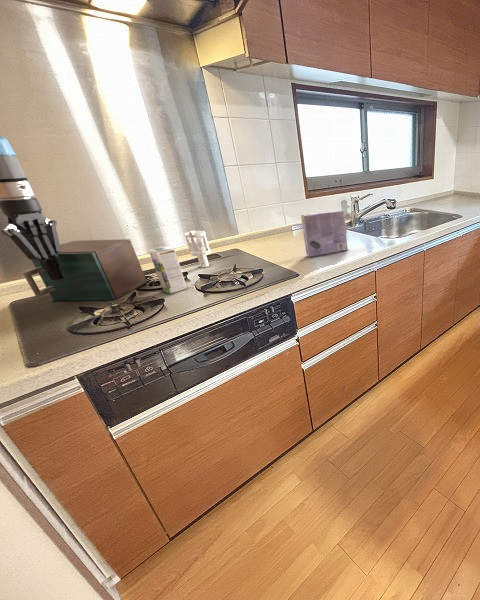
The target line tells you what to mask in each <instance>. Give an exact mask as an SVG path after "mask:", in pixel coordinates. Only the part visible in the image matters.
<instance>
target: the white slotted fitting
mask: <svg viewBox="0 0 480 600" xmlns="http://www.w3.org/2000/svg"><path fill="white" fill-rule="evenodd" d="M183 235H184V238H185V241H186V243H187V246H188V249H189V253H190V256H192V257H197V260H198V263H199V267H200V268H207V267H209V266H210V264H209V261H208V257H207V255H209V254H210V253H211V248H210V245H209V242H208V237H207V235H206V231H205V230H190V231H188V232H184V234H183Z"/></svg>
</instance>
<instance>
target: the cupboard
mask: <svg viewBox="0 0 480 600" xmlns="http://www.w3.org/2000/svg"><path fill="white" fill-rule="evenodd" d="M59 245H60V249H61V253H82V252H95V254H96V256H97V259H98V261H99V263H100V265H101V267H102V270H103V272H104V274H105V276H106V278H107V280H108V283H109V285H110V287H111V289H112V291H113V294H114V296H115V299H118V298H120V297H122V296H124V295H126V294H129V292H131V291H133V290H135V289H138V288H139V287H141V286H142V285H144V284H146V283H148V281H147V278H146V276H145V273H144V271H143V268H142V265H141V263H140V260H139V258H138V256H137V254H136V251H135V248H134V246H133V243H132V241H131V239H130V238H128V239H127V238H126V239H123V238H122V239H95V240H94V239H92V240H91V239H90V240H89V239H87V240H85V239H84V240H71V241H68V242H65V243H61V244H59Z"/></svg>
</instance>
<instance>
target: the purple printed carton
mask: <svg viewBox="0 0 480 600" xmlns="http://www.w3.org/2000/svg"><path fill="white" fill-rule="evenodd" d="M345 215H346V214H345V210H333V211H324V212H323V211H322V212H315V213H304V214H300V220H301V226H302V233H303V240H304V246H305V253H306V256H308V257H309V258H313V257H318V256H324V255H330V254H334V253H339V252H344V251H348V250H349V248H348V240H347V227H346V217H345Z"/></svg>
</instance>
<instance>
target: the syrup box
mask: <svg viewBox="0 0 480 600" xmlns="http://www.w3.org/2000/svg"><path fill="white" fill-rule="evenodd" d="M148 252H149V255H150V258H151V261H152V264H153V267H154V270H155V272H156V275H157V278H158V281H159V283H160V286H161V288H162V291H163V292H165V293H167V294H170V295H171V294H174V293H177V292H180V291H183V290H186V289H188V287H187V283H186V280H185V277H184V274H183V271H182V267H181V265H180V262H179V259H178V255H177V253H176V250H175V248H174V247H173V248H172V247H170V246H167V245H166V246H158V247H153V248H150V249H148Z"/></svg>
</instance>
